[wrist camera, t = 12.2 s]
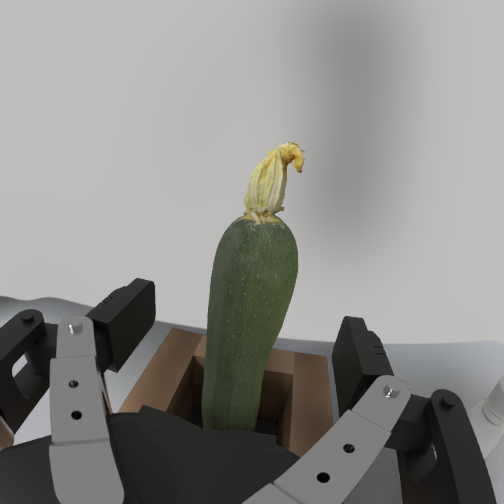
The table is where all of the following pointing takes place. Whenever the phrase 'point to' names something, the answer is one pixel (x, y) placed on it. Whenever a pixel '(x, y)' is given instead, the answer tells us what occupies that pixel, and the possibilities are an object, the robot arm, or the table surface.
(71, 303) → the table surface
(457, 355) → the table surface
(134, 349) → the robot arm
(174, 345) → the socket
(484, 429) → the eye dropper bottle
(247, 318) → the vegetable
